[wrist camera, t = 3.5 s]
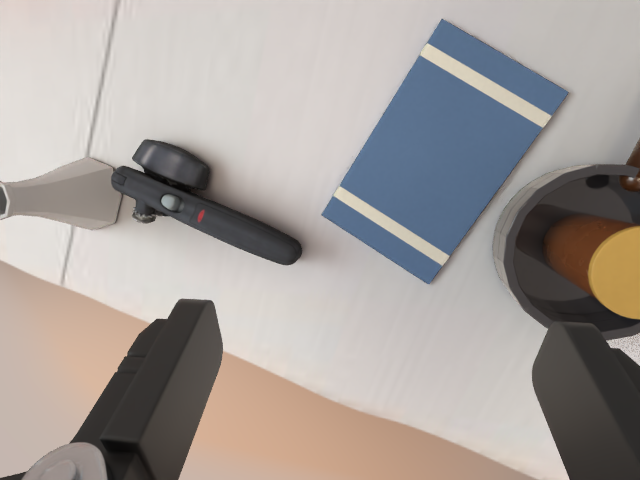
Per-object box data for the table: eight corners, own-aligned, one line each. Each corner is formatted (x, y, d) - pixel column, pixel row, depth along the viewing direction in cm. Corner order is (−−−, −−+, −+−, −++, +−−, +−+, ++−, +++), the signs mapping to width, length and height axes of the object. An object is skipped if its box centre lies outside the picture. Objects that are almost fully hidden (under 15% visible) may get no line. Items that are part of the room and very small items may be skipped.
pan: (649, 144, 30) (686, 140, 26) (681, 302, 31) (721, 321, 27) (476, 191, 33) (486, 193, 29) (512, 333, 34) (525, 354, 30)
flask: (58, 155, 40) (-52, 150, 30) (122, 158, 39) (27, 152, 29) (63, 227, 41) (-41, 243, 32) (125, 232, 40) (36, 250, 30)
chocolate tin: (609, 203, 30) (691, 215, 22) (624, 271, 31) (709, 308, 22) (533, 222, 32) (582, 240, 23) (548, 286, 32) (602, 328, 24)
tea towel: (441, 20, 31) (442, 18, 31) (567, 93, 30) (569, 92, 30) (322, 214, 36) (321, 215, 35) (428, 283, 35) (428, 285, 34)
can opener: (131, 198, 39) (87, 201, 34) (156, 131, 38) (114, 124, 32) (288, 287, 37) (268, 306, 32) (322, 222, 36) (307, 230, 30)
